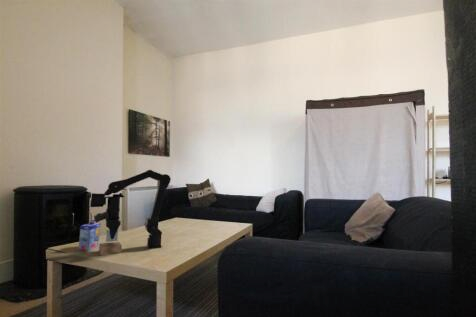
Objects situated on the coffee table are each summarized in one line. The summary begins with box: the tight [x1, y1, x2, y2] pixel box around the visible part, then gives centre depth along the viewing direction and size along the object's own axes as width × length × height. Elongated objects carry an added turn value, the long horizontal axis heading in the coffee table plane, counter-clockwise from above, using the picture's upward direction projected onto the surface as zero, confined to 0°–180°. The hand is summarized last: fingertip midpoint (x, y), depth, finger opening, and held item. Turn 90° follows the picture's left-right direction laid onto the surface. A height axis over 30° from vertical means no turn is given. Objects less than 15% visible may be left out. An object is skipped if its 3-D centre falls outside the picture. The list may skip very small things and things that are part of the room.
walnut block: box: [98, 241, 122, 256], centre depth 128 cm, size 9×9×4 cm
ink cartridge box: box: [78, 219, 101, 251], centre depth 136 cm, size 10×6×14 cm, turn 178°
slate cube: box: [105, 229, 119, 243], centre depth 129 cm, size 5×5×5 cm
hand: (111, 237), depth 129 cm, fingers closed on slate cube, 5 cm apart
